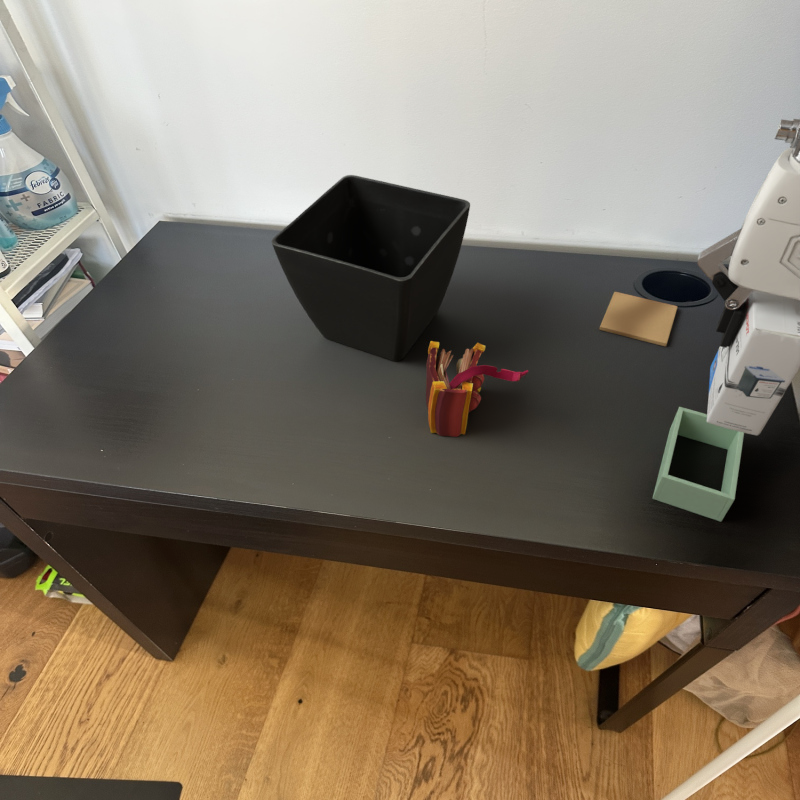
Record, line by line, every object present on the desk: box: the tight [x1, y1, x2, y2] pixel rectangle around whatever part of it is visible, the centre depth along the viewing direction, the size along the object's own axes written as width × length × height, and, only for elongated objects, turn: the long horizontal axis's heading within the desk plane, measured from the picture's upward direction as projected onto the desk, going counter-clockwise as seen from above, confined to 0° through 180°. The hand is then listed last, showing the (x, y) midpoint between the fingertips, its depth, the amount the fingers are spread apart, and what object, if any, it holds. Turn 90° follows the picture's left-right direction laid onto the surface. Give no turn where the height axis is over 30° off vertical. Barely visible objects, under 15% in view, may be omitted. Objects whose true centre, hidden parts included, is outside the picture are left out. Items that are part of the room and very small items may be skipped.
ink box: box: [706, 291, 800, 436], centre depth 57 cm, size 9×5×12 cm, turn 159°
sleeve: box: [652, 406, 745, 522], centre depth 68 cm, size 7×11×4 cm, turn 154°
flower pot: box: [271, 174, 471, 362], centre depth 84 cm, size 19×19×17 cm
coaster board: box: [599, 291, 679, 347], centre depth 89 cm, size 9×9×1 cm
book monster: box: [425, 340, 529, 438], centre depth 73 cm, size 11×9×12 cm
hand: (761, 345), depth 56 cm, fingers closed on ink box, 5 cm apart
